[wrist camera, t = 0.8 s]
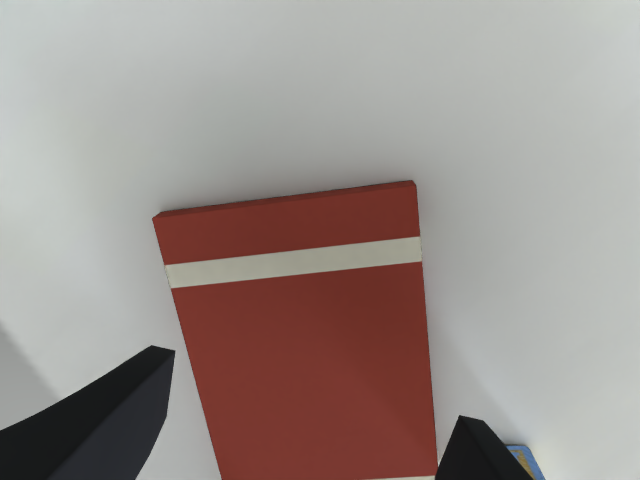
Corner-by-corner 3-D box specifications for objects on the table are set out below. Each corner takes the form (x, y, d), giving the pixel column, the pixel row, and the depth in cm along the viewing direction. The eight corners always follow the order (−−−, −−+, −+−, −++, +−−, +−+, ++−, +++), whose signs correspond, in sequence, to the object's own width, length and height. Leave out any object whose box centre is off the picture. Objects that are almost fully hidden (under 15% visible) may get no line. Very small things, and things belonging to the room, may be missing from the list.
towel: (439, 507, 25) (443, 524, 24) (240, 518, 26) (235, 535, 25) (413, 179, 19) (416, 185, 18) (160, 211, 20) (150, 218, 19)
